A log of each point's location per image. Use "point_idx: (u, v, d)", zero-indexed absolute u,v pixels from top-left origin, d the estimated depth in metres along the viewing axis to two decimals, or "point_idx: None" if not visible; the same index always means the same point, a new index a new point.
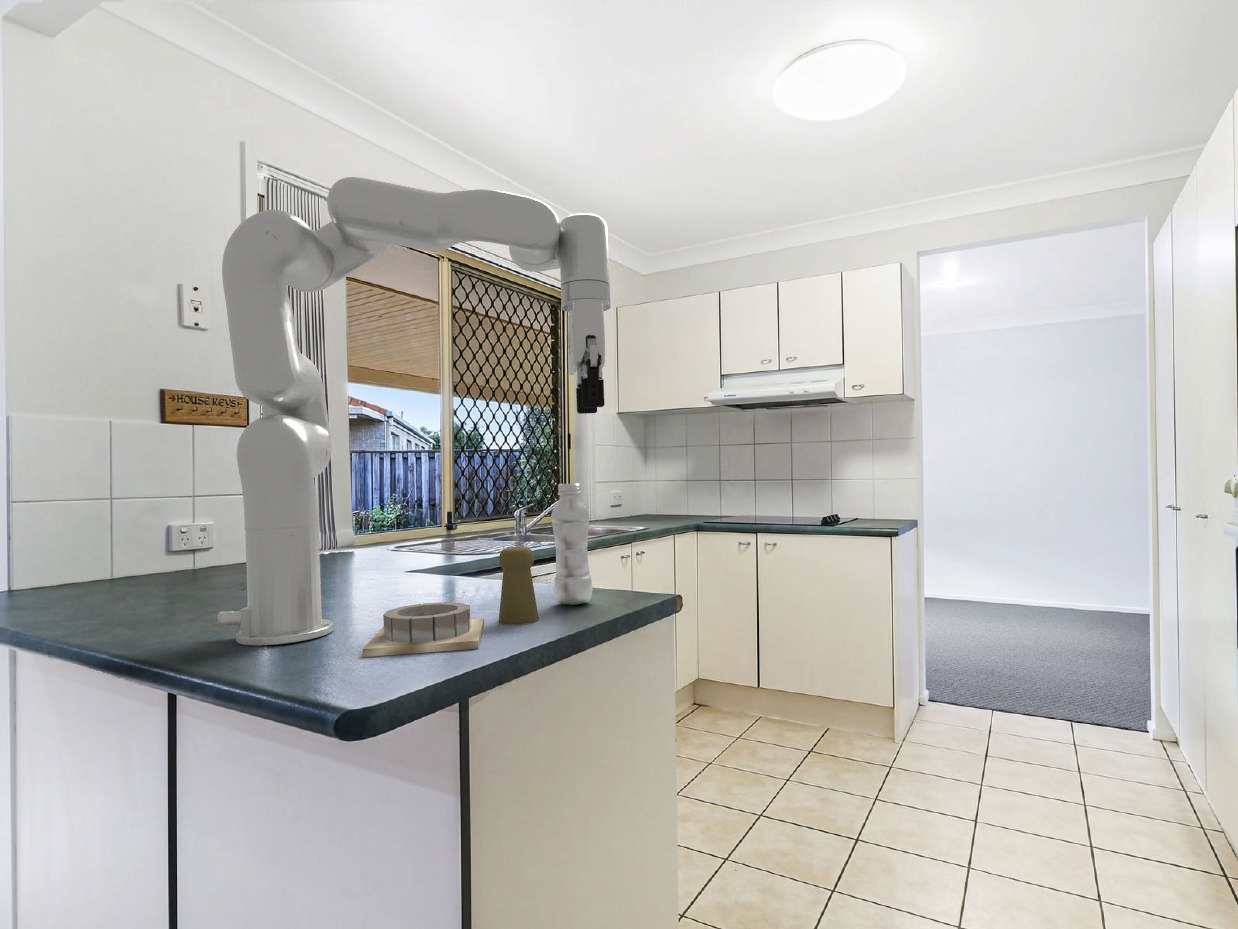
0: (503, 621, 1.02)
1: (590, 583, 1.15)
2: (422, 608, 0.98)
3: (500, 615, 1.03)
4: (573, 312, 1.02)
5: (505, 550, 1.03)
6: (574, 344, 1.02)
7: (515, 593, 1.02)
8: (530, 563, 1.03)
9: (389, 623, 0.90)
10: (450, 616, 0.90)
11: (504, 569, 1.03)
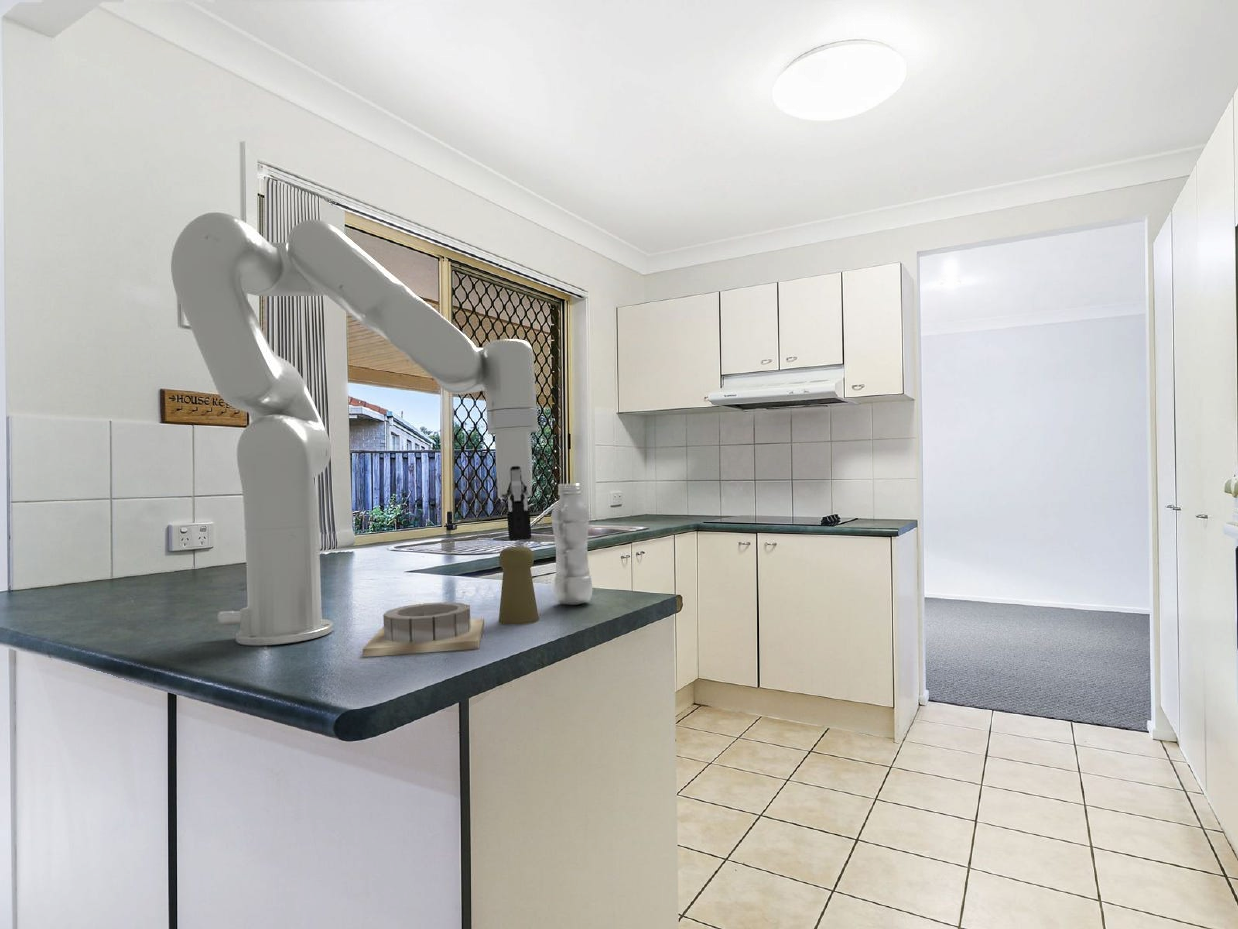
0: (503, 621, 1.02)
1: (590, 583, 1.15)
2: (422, 608, 0.98)
3: (500, 615, 1.03)
4: (497, 443, 1.00)
5: (505, 550, 1.03)
6: (498, 476, 1.00)
7: (515, 593, 1.02)
8: (530, 563, 1.03)
9: (389, 623, 0.90)
10: (450, 616, 0.90)
11: (504, 569, 1.03)
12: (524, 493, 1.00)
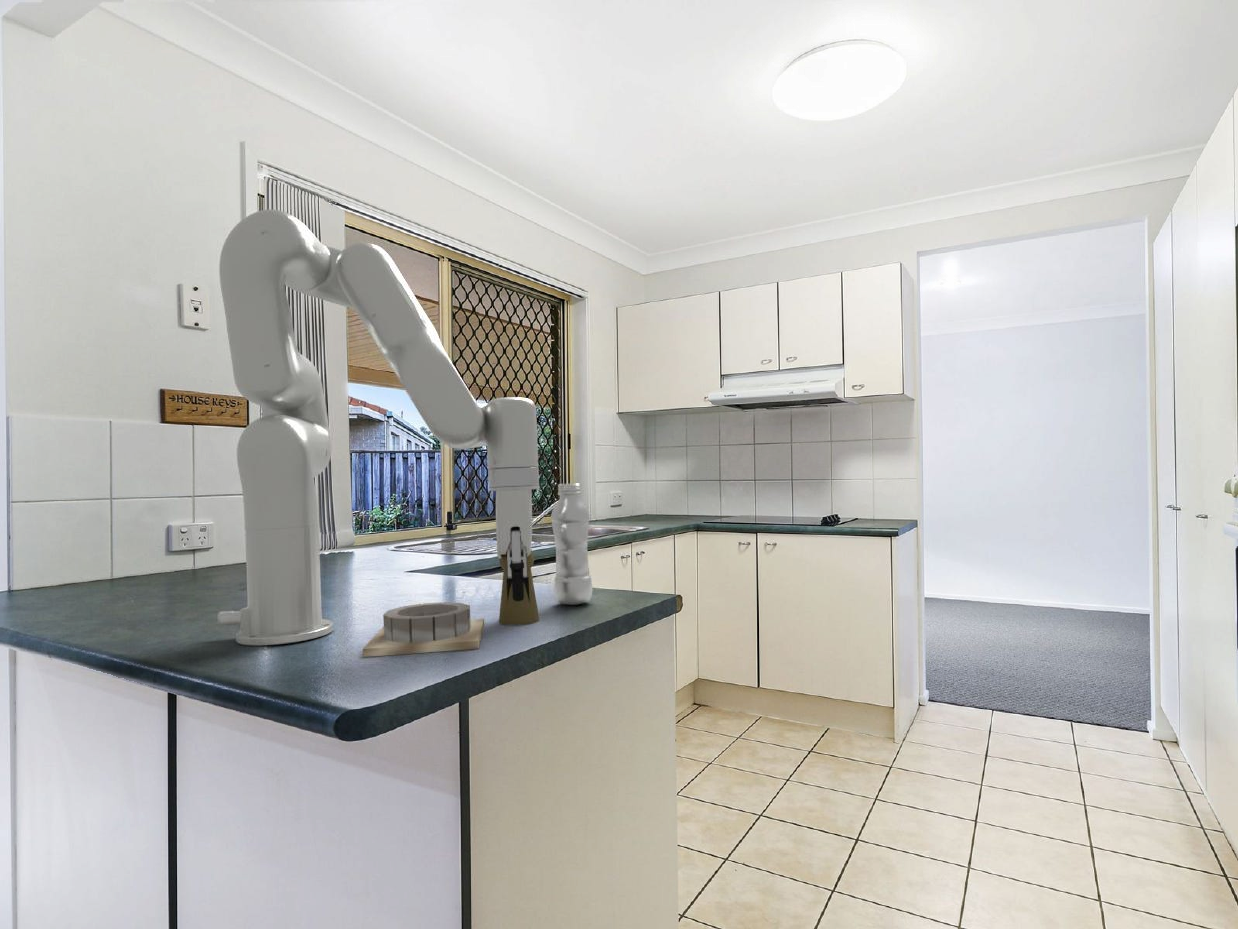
0: (503, 621, 1.02)
1: (590, 583, 1.15)
2: (422, 608, 0.98)
3: (500, 615, 1.03)
4: (498, 502, 1.00)
5: None
6: (498, 536, 0.99)
7: None
8: (530, 563, 1.03)
9: (389, 623, 0.90)
10: (450, 616, 0.90)
11: (504, 569, 1.03)
12: (524, 560, 1.02)
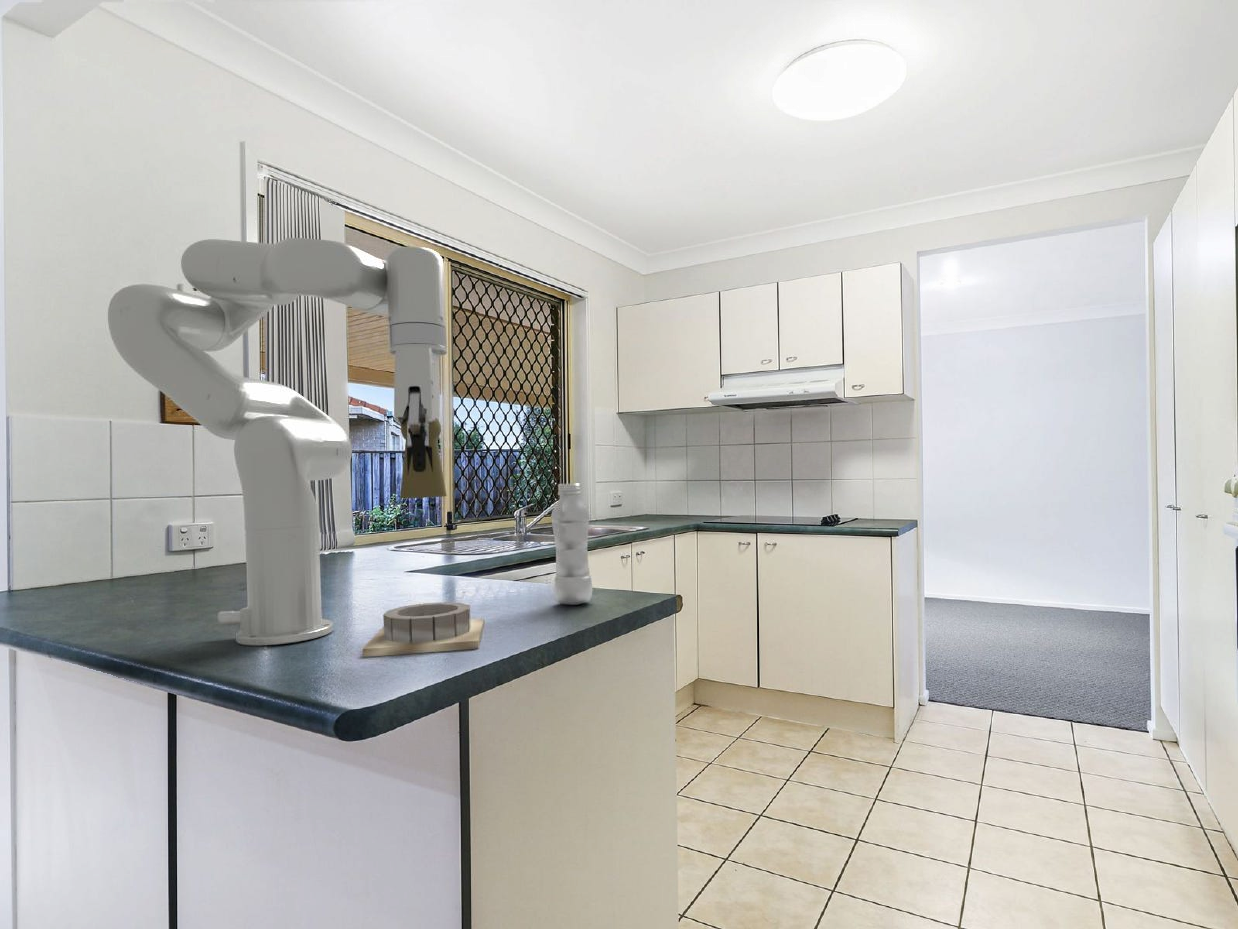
0: (403, 495, 0.92)
1: (590, 583, 1.15)
2: (422, 608, 0.98)
3: (401, 489, 0.92)
4: (395, 360, 0.90)
5: None
6: (395, 396, 0.89)
7: None
8: (435, 432, 0.93)
9: (389, 623, 0.90)
10: (450, 616, 0.90)
11: (406, 438, 0.93)
12: (425, 426, 0.91)
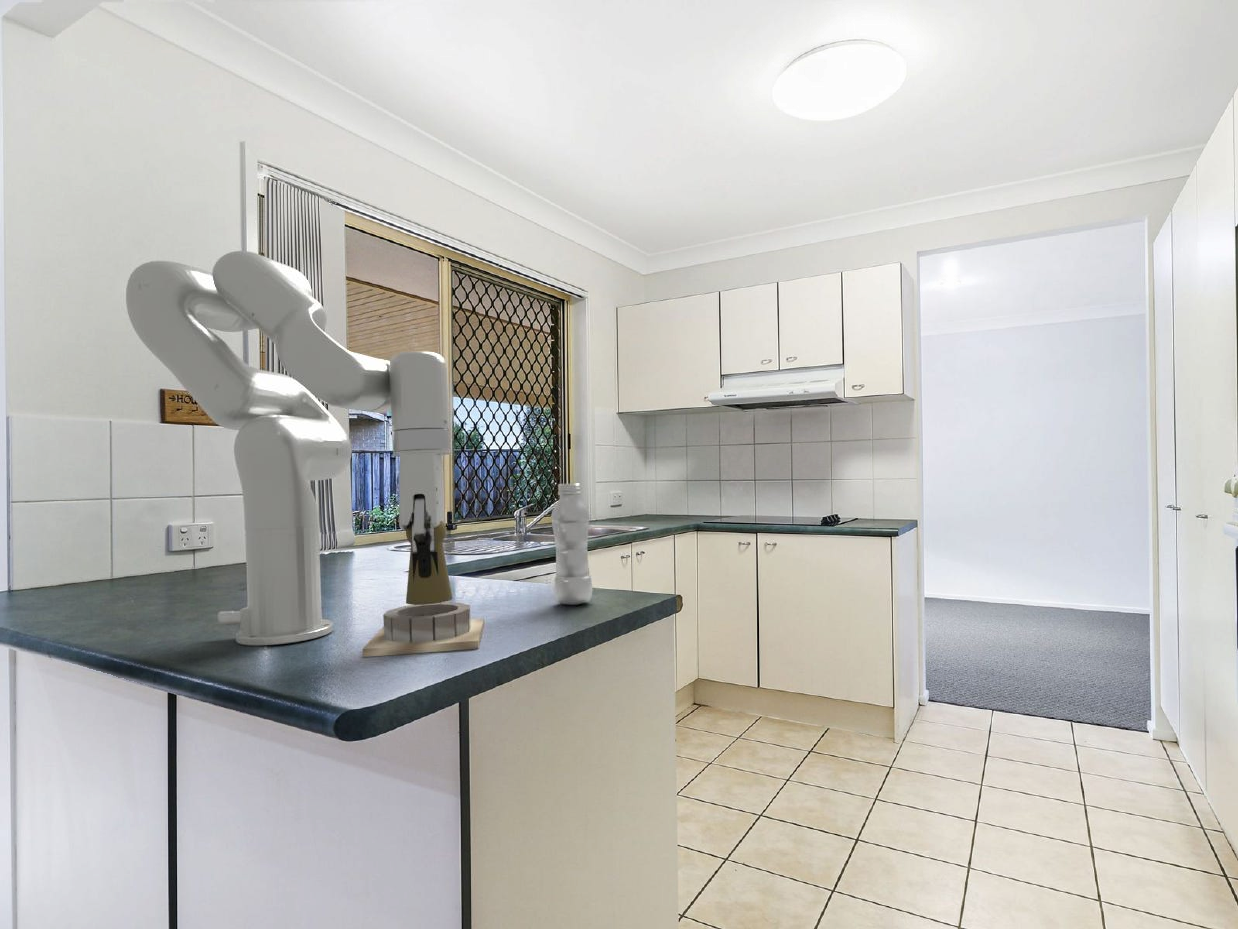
0: (409, 601, 0.91)
1: (590, 583, 1.15)
2: (422, 608, 0.98)
3: (407, 594, 0.92)
4: (399, 467, 0.90)
5: None
6: (400, 505, 0.89)
7: None
8: (440, 536, 0.92)
9: (389, 623, 0.90)
10: (450, 616, 0.90)
11: (411, 543, 0.92)
12: (431, 532, 0.91)
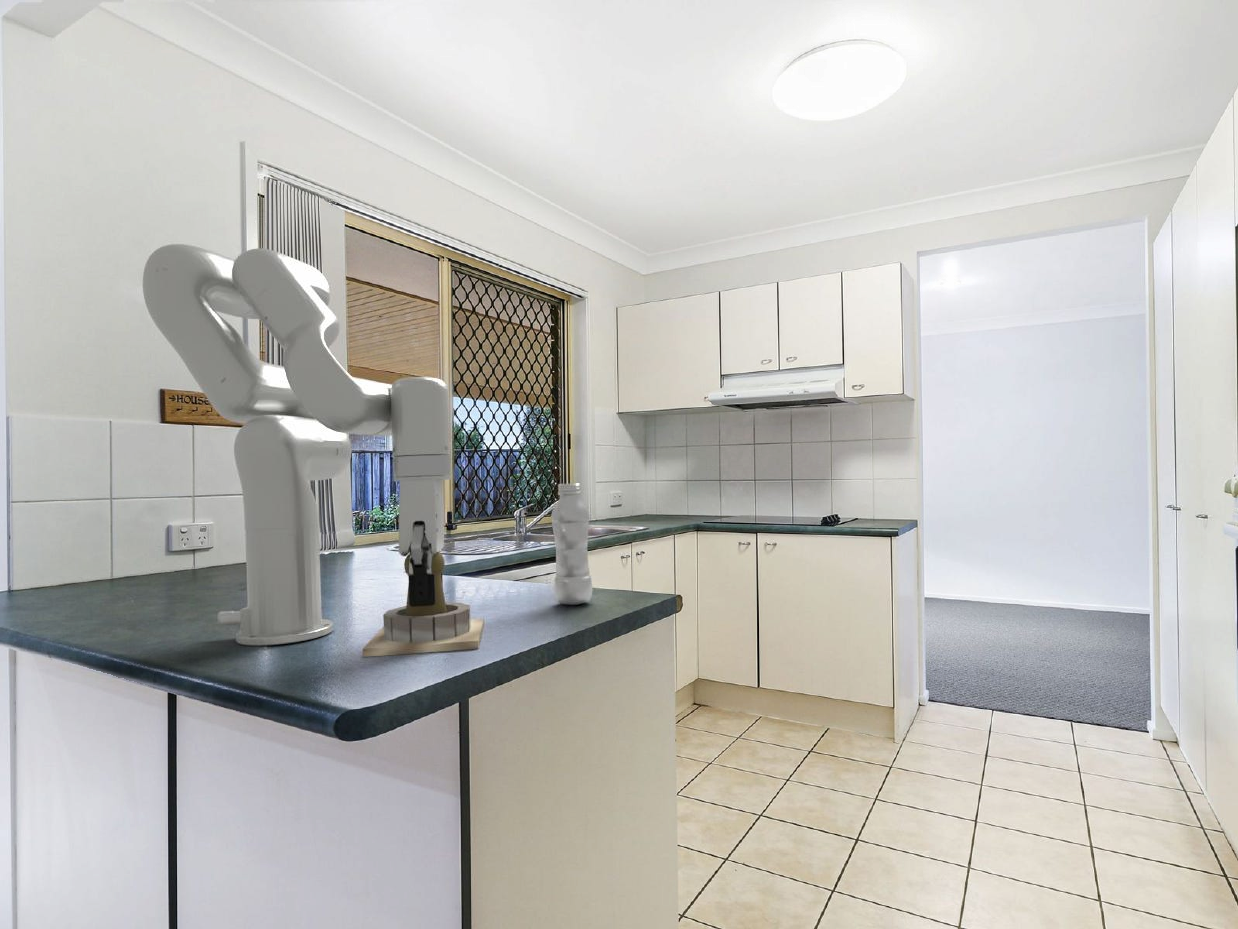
0: None
1: (590, 583, 1.15)
2: None
3: None
4: (400, 494, 0.90)
5: None
6: (399, 532, 0.89)
7: None
8: (438, 569, 0.92)
9: (389, 623, 0.90)
10: (450, 616, 0.90)
11: None
12: (429, 553, 0.90)
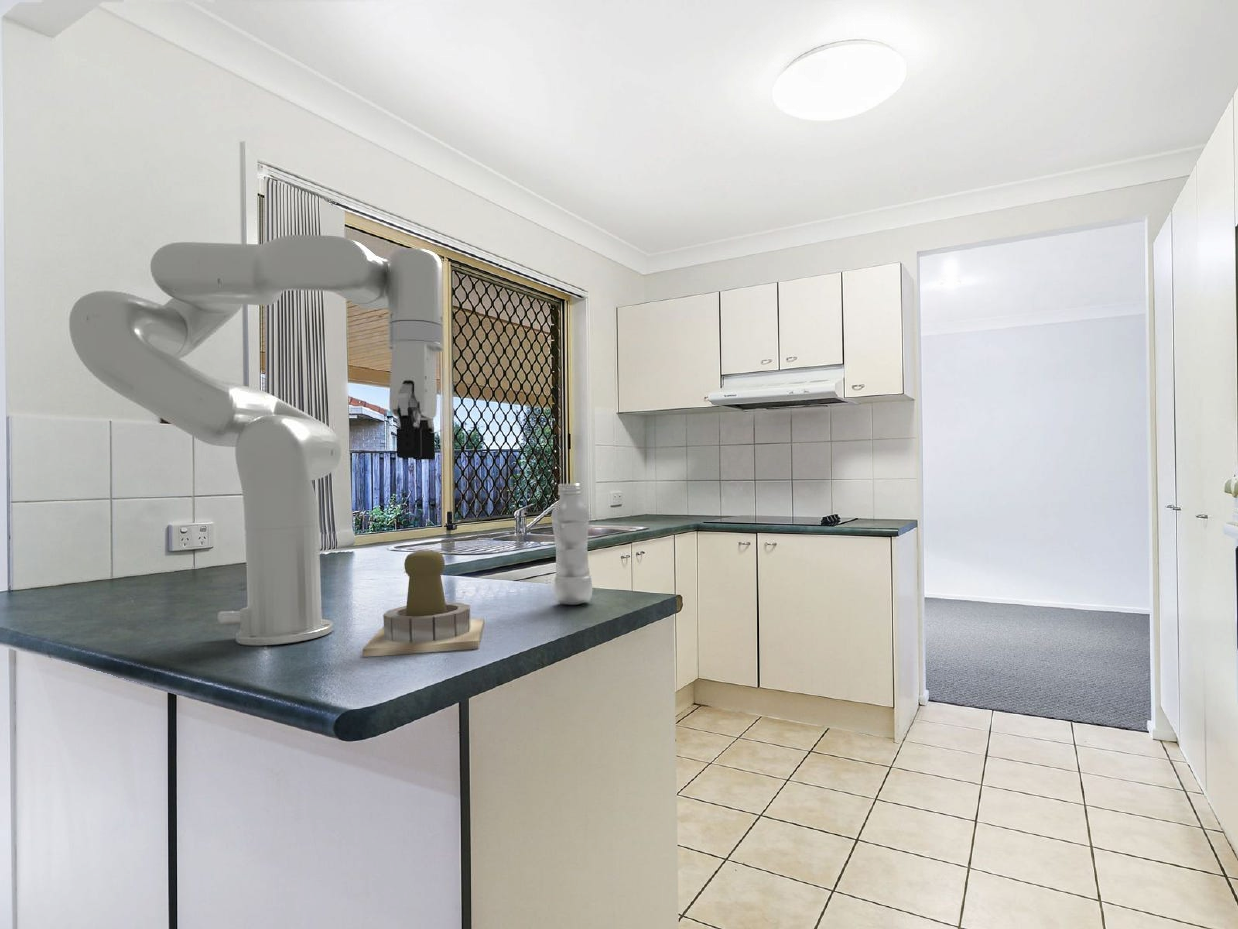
0: None
1: (590, 583, 1.15)
2: None
3: None
4: (392, 355, 0.95)
5: (410, 555, 0.92)
6: (390, 390, 0.95)
7: (419, 603, 0.91)
8: (438, 569, 0.92)
9: (389, 623, 0.90)
10: (450, 616, 0.90)
11: (409, 576, 0.92)
12: (416, 409, 0.95)
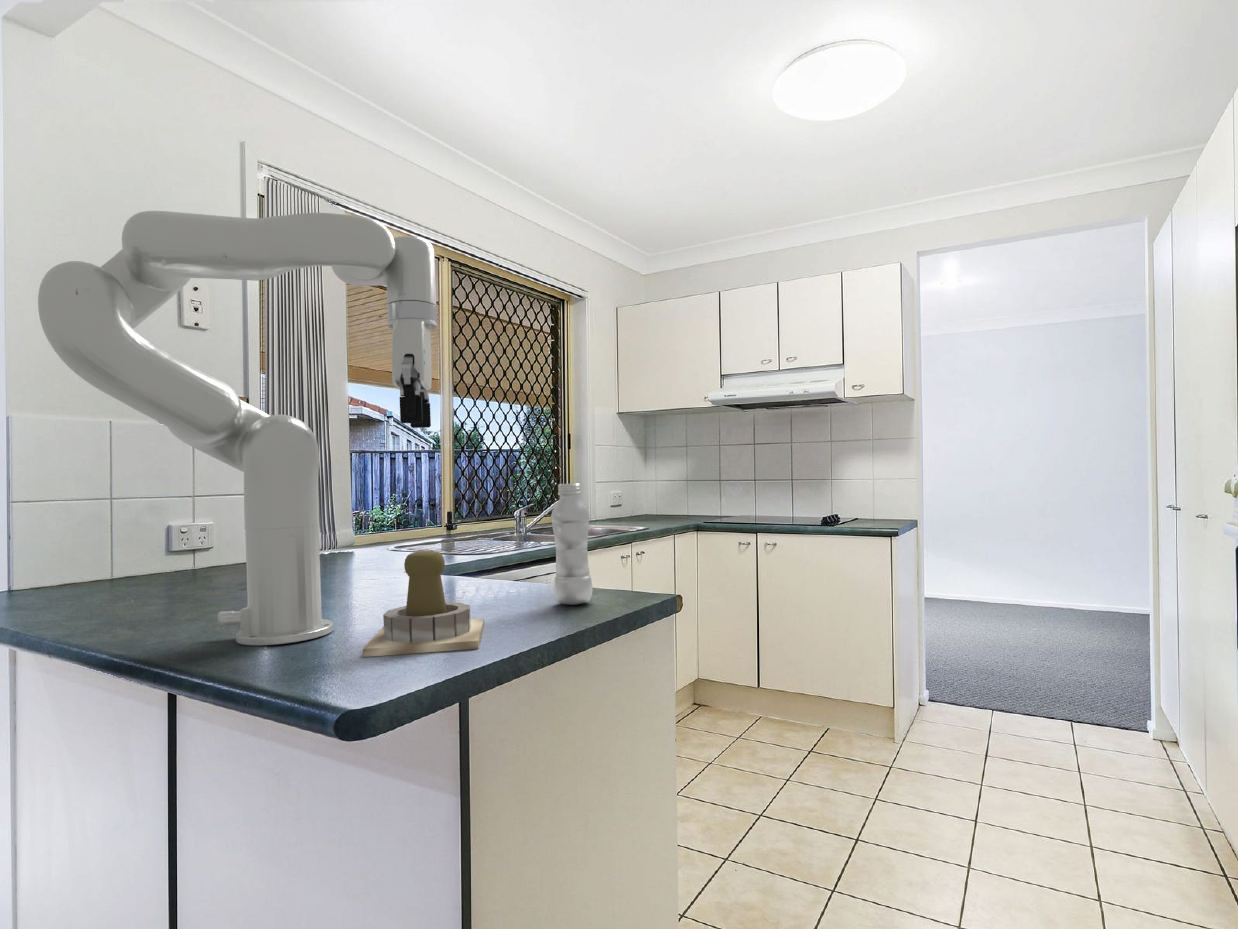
0: None
1: (590, 583, 1.15)
2: None
3: None
4: (393, 331, 1.06)
5: (410, 555, 0.92)
6: (393, 362, 1.06)
7: (419, 603, 0.91)
8: (438, 569, 0.92)
9: (389, 623, 0.90)
10: (450, 616, 0.90)
11: (409, 576, 0.92)
12: (417, 379, 1.06)
